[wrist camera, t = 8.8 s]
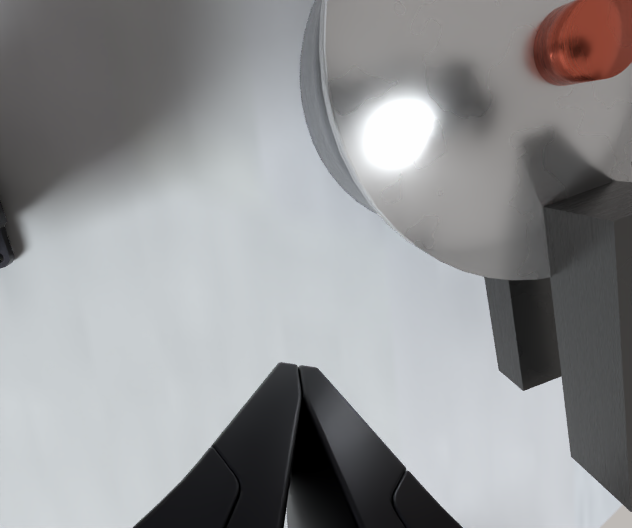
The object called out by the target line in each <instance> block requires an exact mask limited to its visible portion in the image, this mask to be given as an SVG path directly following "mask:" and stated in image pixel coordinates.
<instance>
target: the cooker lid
mask: <svg viewBox="0 0 632 528" xmlns="http://www.w3.org/2000/svg"><path fill="white" fill-rule="evenodd" d="M319 59H320V71H321V82H322V90H323V95H324V100H325V105H326V109H327V114H328V119H329V123H330V126H331V129H332V132H333V135H334V138H335V141H336V143H337V146H338V149H339V152H340V154H341V156H342V158H343V160H344V162H345V165H346V167H347V169H348V171H349V173H350V175H351V177H352V179H353V181H354V182H355V184H356V185H357V187H358V188H359V190H360V191H361V193H362V194H363V196H364V197H365V199H366V200H367V202H368V203H369V204H370V206H371V207H372V208H373V209H374V210H375V211H376V212H377V213H378V215H379V216H380V217H381V218H382V219H383V220H384V221H385V222H386V224H387V225H389V226H390V227H391V228H392V229H393V230H394V231H396V232H397V233H398V234H399V235H400V236H402V237H403V238H404V239H405V240H406V241H408V242H409V243H411V244H412V245H414V246H416V247H417V248H419V249H421V250H422V251H424V252H425V253H427V254H429V255H430V256H432V257H434V258H436V259H437V260H439V261H441V262H443V263H446V264H448V265H450V266H453V267H455V268H457V269H460V270H462V271H464V272H468V273H472V274H476V275H480V276H483V277H487V278H495V279H505V280H537V279H543V278H549V277H550V282H551V290H552V299H553V307H554V315H555V324H556V332H557V341H558V349H559V358H560V366H561V375H562V383H563V392H564V400H565V409H566V417H567V426H568V434H569V443H570V451H571V457H572V458H573V459H574V460H575V461H576V462H578V463H579V464H580V465H581V466H582V467H583V468H584V469H585V470H586V471H587V472H588V473H589V474H591V475H592V476H593V477H594V478H595V479H596V480H597V481H598V482H599V483H600V484H601V485H602V486H603V487H605V488H606V489H607V490H608V491H609V492H610V493H611V494H612V495H613V496H614V497H615V498H616V499H618V500H619V501H620V502H621V503H622V504H623V505H624V506H625V507H626V508H627V509H628V510H629V511H631V512H632V0H322V4H321V11H320V31H319Z"/></svg>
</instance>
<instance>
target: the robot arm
mask: <svg viewBox="0 0 632 528" xmlns="http://www.w3.org/2000/svg"><path fill="white" fill-rule="evenodd" d="M6 222H7V220H6V217H5V214H4V211H3V208H2V205H1V202H0V254H2V256H3V258H4V260H3V261H0V268H3V267H6V266H8V265H9V264H11V263H12V262H13V259H14V254H13V251H12V248H11V245H10V242H9V239H8V236H7V233H6V230H5V227H4V225H5V224H6ZM286 507H287V523H288V528H463V527H462V526H461V525H460V524H459V523H458V522H456V521H455V520H454V519H453V518H452V517H451V516H450V515H449V514H448V513H447V512H446V511H445V510H444V509H443V508H442V507H441V506H440V504H439V503H438V502H437V501H436V500H435V499H434V498H433V497H432V496H431V495H430V494H429V493H428V492H427V490H426V489H425V488H424V487H423V486H422V485H421V484H420V483H419V482H418V481H417V479H416V478H415V477H414V476H413V475H412V474H411V473H410V472H409V471H406V467H405V466H404V465H403V464H402V463H401V462H400V460H399V459H398V458H397V457H396V456H395V455H394V454H393V453H392V451H391V450H390V449H389V448H388V447H387V446H386V445H385V444H384V442H383V441H382V440H381V439H380V438H379V437H378V436H377V434H376V433H375V432H374V431H373V430H372V429H371V428H370V427H369V425H368V424H367V423H366V422H365V421H364V420H363V419H362V418H361V416H360V415H359V414H358V413H357V412H356V411H355V410H354V409H353V407H352V406H351V405H350V404H349V403H348V402H347V401H346V400H345V398H344V397H343V396H342V395H341V394H340V393H339V392H338V390H337V389H336V388H335V387H334V386H333V385H332V384H331V383H330V381H329V380H328V379H327V378H326V377H325V376H324V375H323V374H322V372H321V371H320V370H319V369H318V368H316V367H310V366H303V365H301V366H299V367H298V366H297V365H295V364H289V363H283V362H280V363H278V364H277V365H276V367H275V368H274V369H273V370H272V372H271V373H270V374H269V375H268V377H267V378H266V379H265V380H264V382H263V383H262V384H261V385H260V386H259V388H258V389H257V390H256V391H255V393H254V394H253V395H252V396H251V398H250V399H249V400H248V401H247V403H246V404H245V405H244V406H243V407H242V409H241V410H240V411H239V412H238V414H237V415H236V416H235V417H234V419H233V420H232V421H231V422H230V424H229V425H228V426H227V427H226V428H225V430H224V431H223V432H222V433H221V435H220V436H219V437H218V438H217V440H216V441H215V442H214V443H213V445H212V446H211V448H209V449H208V450H207V452H206V453H205V454H204V455H203V457H202V458H201V459H200V460H199V461H198V463H197V464H196V465H195V466H194V467H193V468H192V469H191V471H190V472H189V473H188V474H187V475H186V476H185V477H184V479H183V480H182V481H181V482H180V483H179V484H178V485H177V486H176V487H175V488H174V489H173V490H172V491H171V492H170V493H169V494H168V495H167V496H166V497H165V498H164V499H163V500H162V501H161V502H160V503H158V504H157V505H156V506H155V507H154V508H153V509H152V510H151V511H150V512H149V513H148V514H147V515H146V516H145V517H143V518H142V519H141V520H140V521H139V522H138V523H137V524H136V525H135V526H134V527H133V528H284V521H285V514H286Z"/></svg>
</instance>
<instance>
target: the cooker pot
mask: <svg viewBox="0 0 632 528" xmlns="http://www.w3.org/2000/svg"><path fill="white" fill-rule="evenodd" d="M321 4H322V0H315V2H314V4H313V6H312V9H311V11H310V15H309V18H308V22H307V25H306V29H305V33H304V38H303V44H302V51H301V60H300V87H301V99H302V105H303V110H304V115H305V120H306V124H307V127H308V130H309V133H310V136H311V138H312V141H313V144H314V146H315V148H316V150H317V152H318V154H319V156H320V158H321V160H322V162H323V163H324V165H325V166H326V168H327V169H328V171H329V172H330V174H331V175H332V177H333V178H334V179H335V180H336V181H337V182H338V184H339V185H340V186H341V187H342V188H343V189H344V190H345V191H346V192H347V193H348V194H349V195H350V196H351V197H353V198H354V199H355V200H356V201H357V202H358V203H360V204H361V205H363V206H364V207H366V208H368V209H369V210H371V211H372V212H374V213H376V214H378V213H377V212H376V211H375V210H374V209H373V208H372V207H371V206H370V204H369V203H368V202H367V200H366V199H365V197H364V196H363V194H362V193H361V191H360V190H359V188H358V187H357V185H356V184H355V182H354V181H353V179H352V177H351V175H350V173H349V171H348V169H347V167H346V165H345V162H344V160H343V158H342V156H341V154H340V152H339V149H338V146H337V143H336V141H335V138H334V135H333V132H332V129H331V126H330V123H329V119H328V114H327V109H326V105H325V100H324V95H323V90H322V82H321V71H320V59H319V31H320V11H321ZM485 284H486V290H487V297H488V303H489V310H490V316H491V323H492V329H493V335H494V342H495V348H496V355H497V361H498V368H499V371H501V372H502V373H503V374H504V375H505V376H506V377H508V378H509V379H510V380H511V381H512V382H513V383H515V384H516V385H517V386H518V387H519V388H521V389H522V390H523V391H525V390H527V389H530V388H532V387H535V386H537V385H540V384H543V383H545V382H548V381H550V380H553V379H556V378H558V377H561V376H562V375H561V366H560V358H559V349H558V341H557V332H556V324H555V315H554V307H553V299H552V290H551V282H550V277H549V278H543V279H537V280H505V279H495V278H487V277H485Z"/></svg>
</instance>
